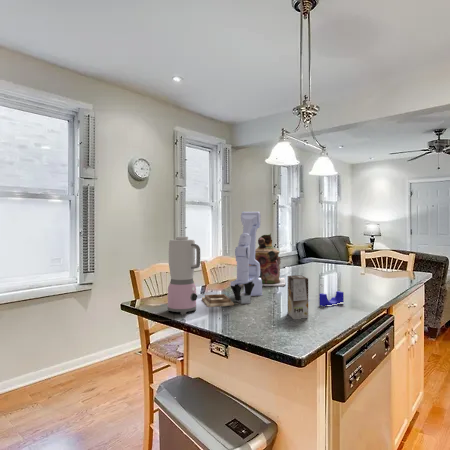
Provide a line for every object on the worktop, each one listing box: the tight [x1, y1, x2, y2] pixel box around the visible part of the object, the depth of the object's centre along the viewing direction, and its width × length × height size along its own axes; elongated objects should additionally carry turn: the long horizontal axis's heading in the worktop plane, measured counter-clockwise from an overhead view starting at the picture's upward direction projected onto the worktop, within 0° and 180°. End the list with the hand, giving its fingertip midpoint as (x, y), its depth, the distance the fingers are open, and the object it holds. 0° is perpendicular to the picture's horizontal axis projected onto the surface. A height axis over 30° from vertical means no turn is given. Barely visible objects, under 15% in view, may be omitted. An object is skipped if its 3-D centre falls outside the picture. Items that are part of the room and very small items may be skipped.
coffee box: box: [287, 274, 309, 320], centre depth 138 cm, size 9×6×16 cm
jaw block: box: [234, 292, 252, 305], centre depth 163 cm, size 5×7×4 cm
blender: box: [167, 236, 201, 315], centre depth 145 cm, size 16×12×32 cm
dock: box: [201, 293, 235, 308], centre depth 162 cm, size 12×16×3 cm
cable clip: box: [318, 290, 345, 307], centre depth 157 cm, size 12×4×6 cm, turn 118°
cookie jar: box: [255, 233, 287, 287], centre depth 216 cm, size 25×25×32 cm
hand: (242, 299), depth 164 cm, fingers open, 7 cm apart
